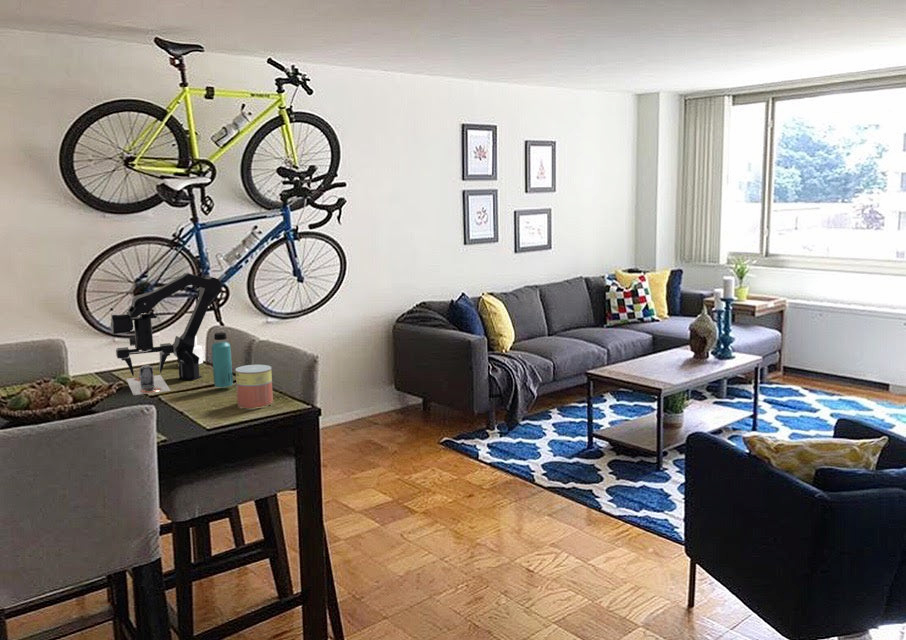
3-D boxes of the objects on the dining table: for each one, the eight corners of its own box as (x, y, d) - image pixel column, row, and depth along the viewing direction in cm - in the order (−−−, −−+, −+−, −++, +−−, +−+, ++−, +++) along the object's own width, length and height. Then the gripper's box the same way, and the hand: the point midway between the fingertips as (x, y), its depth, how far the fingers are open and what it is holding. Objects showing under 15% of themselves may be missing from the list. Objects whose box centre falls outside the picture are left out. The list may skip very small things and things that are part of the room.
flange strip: (125, 378, 282) (125, 374, 282) (160, 374, 288) (159, 370, 288) (133, 395, 259) (133, 390, 259) (170, 390, 265) (170, 385, 265)
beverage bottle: (230, 391, 264) (227, 334, 260) (211, 391, 263) (207, 334, 260) (235, 386, 270) (232, 331, 267) (217, 386, 270) (213, 331, 267)
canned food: (244, 399, 253) (242, 364, 251) (277, 399, 253) (275, 364, 251) (232, 409, 242) (230, 372, 240) (267, 409, 242) (265, 372, 240)
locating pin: (156, 382, 276) (155, 364, 275) (148, 385, 272) (146, 367, 270) (146, 381, 277) (144, 364, 276) (137, 384, 273) (136, 366, 272)
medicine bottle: (177, 366, 303) (175, 336, 300) (187, 362, 309) (185, 333, 307) (193, 366, 301) (191, 337, 299) (203, 362, 308) (201, 333, 306)
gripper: (167, 325, 282) (170, 366, 285) (113, 330, 274) (116, 372, 276) (172, 330, 273) (175, 372, 275) (115, 335, 264) (119, 379, 267)
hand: (146, 374), depth 274 cm, fingers open, 9 cm apart
